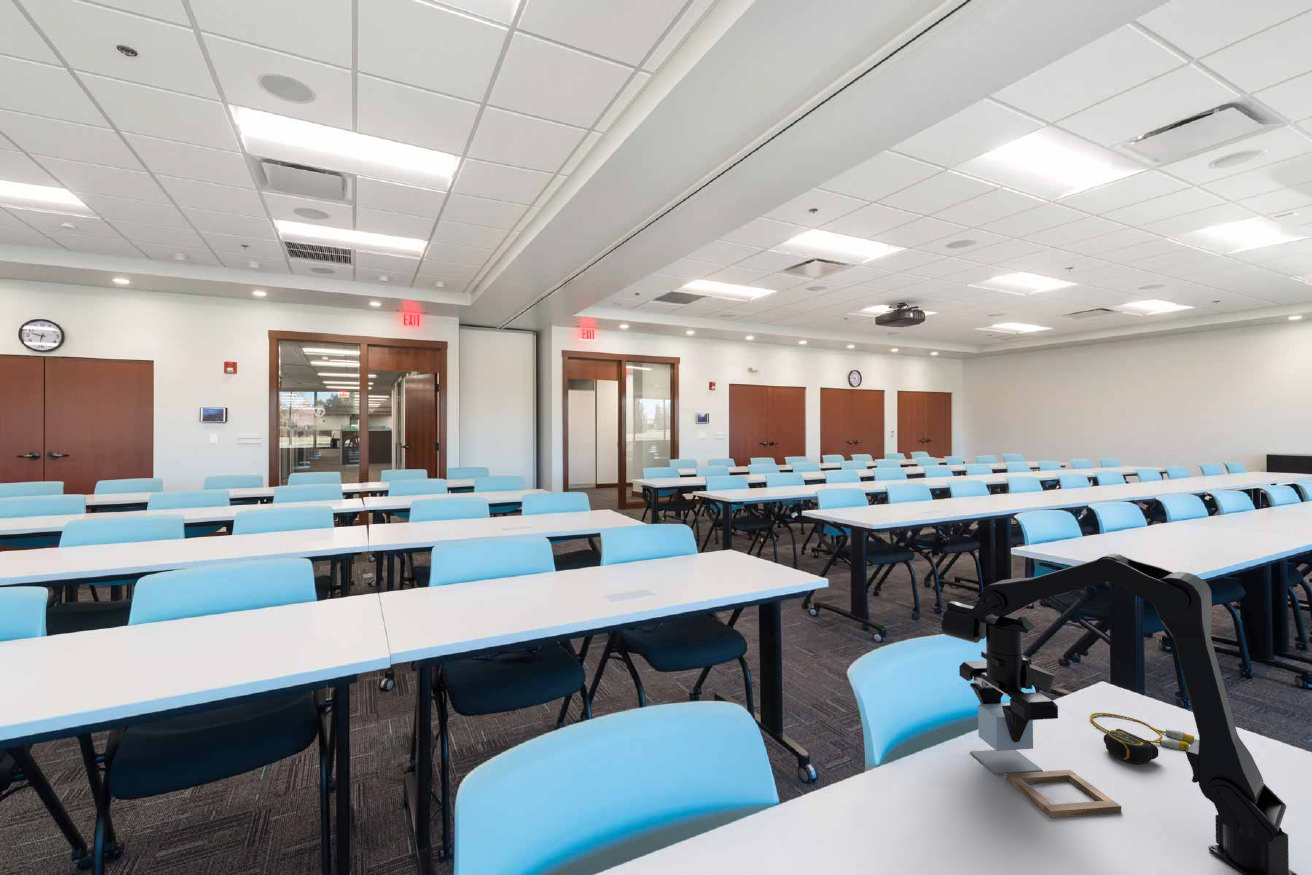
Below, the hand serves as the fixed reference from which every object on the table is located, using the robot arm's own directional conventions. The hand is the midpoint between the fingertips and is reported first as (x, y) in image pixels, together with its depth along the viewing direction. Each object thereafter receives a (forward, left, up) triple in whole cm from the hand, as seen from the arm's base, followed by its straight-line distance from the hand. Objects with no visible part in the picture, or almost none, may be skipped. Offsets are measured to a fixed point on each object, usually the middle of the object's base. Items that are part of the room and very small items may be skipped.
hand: (1005, 734), depth 104 cm
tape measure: (0, -25, -6) cm, 25 cm away
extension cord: (+7, -34, -6) cm, 35 cm away
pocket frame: (-10, -2, -5) cm, 11 cm away
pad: (0, 0, -5) cm, 5 cm away
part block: (0, 0, -2) cm, 2 cm away
